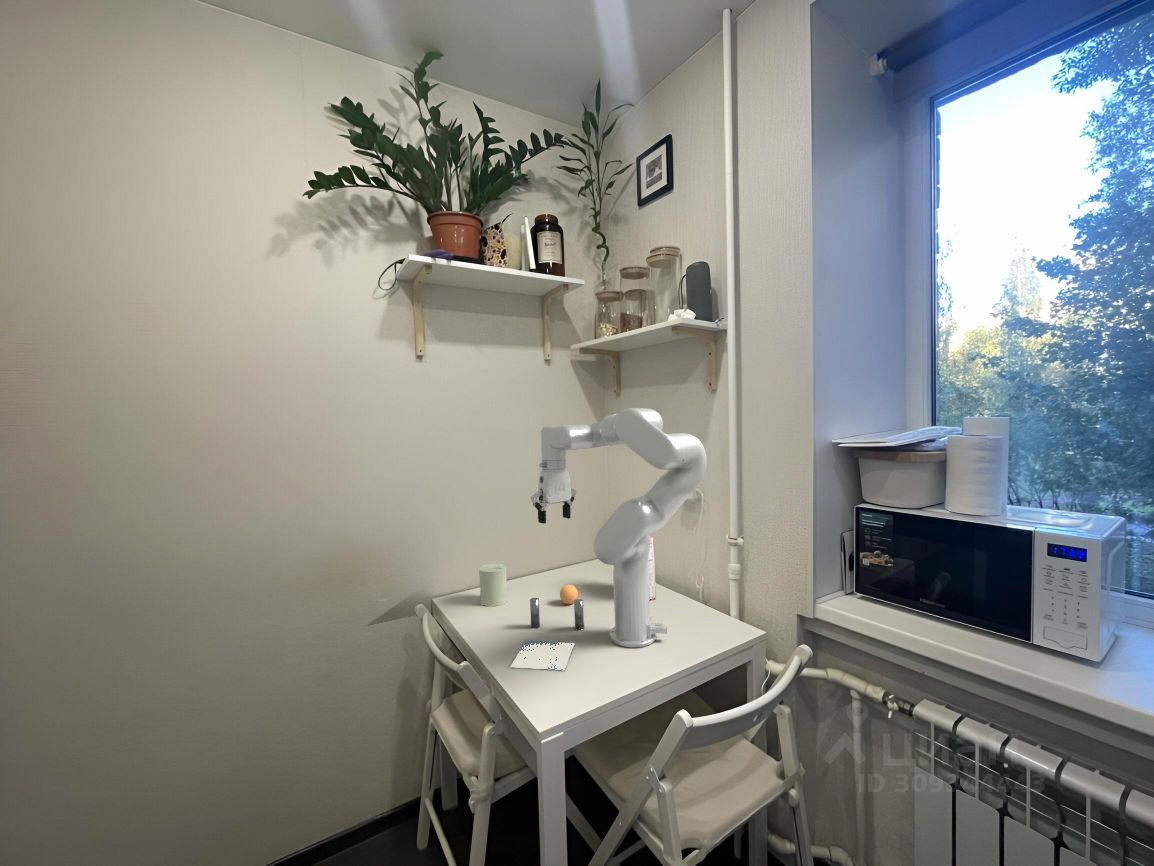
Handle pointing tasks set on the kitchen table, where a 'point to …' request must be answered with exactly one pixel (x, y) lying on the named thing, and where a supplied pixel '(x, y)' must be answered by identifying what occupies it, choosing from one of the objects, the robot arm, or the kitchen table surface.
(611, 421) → the robot arm
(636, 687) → the kitchen table surface
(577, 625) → the inner post
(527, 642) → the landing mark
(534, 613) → the outer post
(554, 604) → the kitchen table surface
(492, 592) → the can
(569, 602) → the ball
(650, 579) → the cracker box
